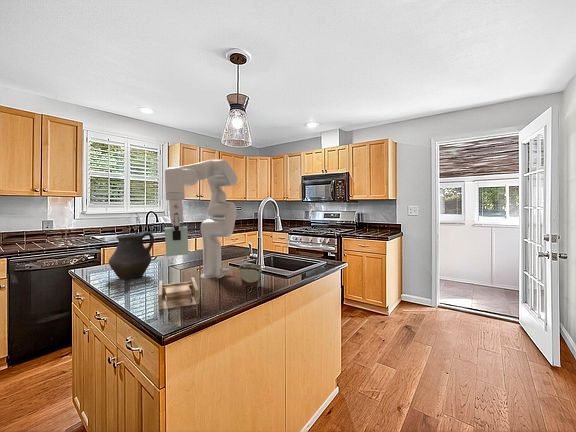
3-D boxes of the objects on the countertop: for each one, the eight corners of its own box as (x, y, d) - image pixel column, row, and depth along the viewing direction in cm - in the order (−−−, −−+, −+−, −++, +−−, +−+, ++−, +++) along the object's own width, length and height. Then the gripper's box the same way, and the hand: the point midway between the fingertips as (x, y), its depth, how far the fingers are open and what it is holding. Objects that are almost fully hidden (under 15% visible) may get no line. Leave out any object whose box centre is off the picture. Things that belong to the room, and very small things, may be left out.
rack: (194, 292, 130) (193, 277, 129) (199, 307, 111) (198, 290, 111) (159, 296, 124) (159, 280, 123) (159, 313, 106) (158, 295, 105)
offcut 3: (188, 296, 120) (188, 292, 119) (190, 301, 113) (190, 297, 113) (165, 299, 116) (165, 295, 115) (166, 305, 109) (166, 301, 109)
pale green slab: (188, 253, 125) (186, 226, 124) (188, 254, 123) (187, 227, 122) (166, 255, 122) (164, 227, 121) (166, 256, 119) (164, 228, 118)
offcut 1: (188, 289, 119) (188, 285, 119) (190, 294, 113) (190, 290, 113) (165, 292, 115) (165, 288, 115) (166, 297, 109) (166, 293, 109)
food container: (266, 285, 140) (266, 265, 139) (260, 288, 134) (260, 268, 134) (245, 282, 145) (245, 262, 145) (239, 285, 140) (238, 265, 139)
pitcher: (110, 275, 158) (108, 231, 156) (153, 270, 168) (152, 229, 167) (108, 285, 140) (106, 235, 138) (156, 279, 150) (155, 232, 149)
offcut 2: (190, 292, 120) (190, 288, 120) (191, 297, 113) (191, 294, 113) (167, 295, 116) (167, 291, 116) (166, 300, 110) (166, 296, 110)
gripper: (185, 197, 115) (187, 241, 116) (183, 196, 129) (184, 236, 131) (165, 197, 112) (167, 243, 113) (165, 197, 126) (167, 237, 128)
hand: (176, 239), depth 122 cm, fingers closed on pale green slab, 2 cm apart
